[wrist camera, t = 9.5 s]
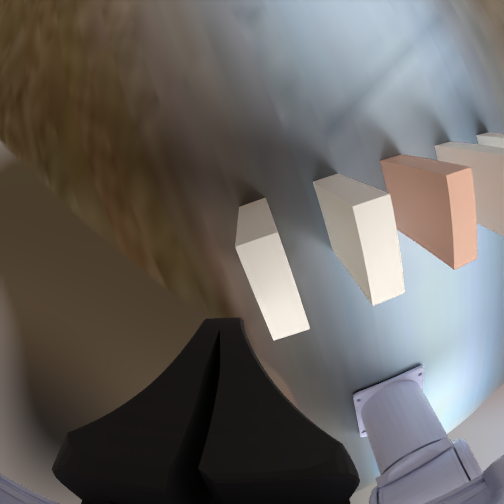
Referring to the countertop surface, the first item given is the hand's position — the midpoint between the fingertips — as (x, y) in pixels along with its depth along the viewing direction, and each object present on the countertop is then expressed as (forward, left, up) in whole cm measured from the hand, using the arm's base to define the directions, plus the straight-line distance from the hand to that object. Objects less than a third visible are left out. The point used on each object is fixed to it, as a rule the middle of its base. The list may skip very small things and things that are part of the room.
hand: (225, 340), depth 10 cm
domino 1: (0, -2, -10) cm, 10 cm away
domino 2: (0, -7, -10) cm, 12 cm away
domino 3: (0, -12, -10) cm, 16 cm away
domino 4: (0, -17, -10) cm, 20 cm away
